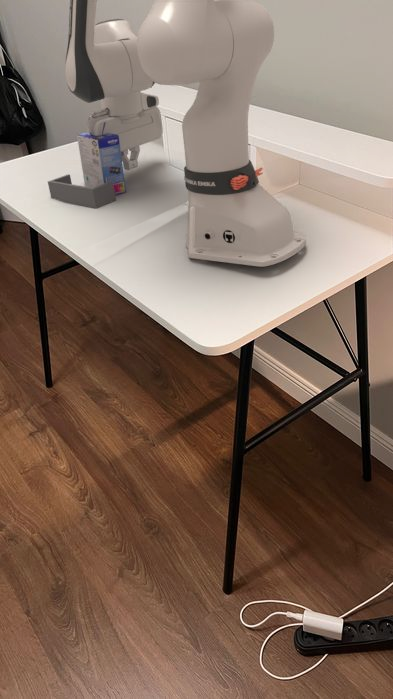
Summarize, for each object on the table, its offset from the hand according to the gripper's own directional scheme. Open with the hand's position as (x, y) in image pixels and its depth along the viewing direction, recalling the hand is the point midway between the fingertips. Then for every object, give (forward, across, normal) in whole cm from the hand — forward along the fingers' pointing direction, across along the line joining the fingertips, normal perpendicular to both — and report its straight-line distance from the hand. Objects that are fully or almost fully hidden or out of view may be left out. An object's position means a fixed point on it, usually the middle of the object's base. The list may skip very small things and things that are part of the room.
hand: (131, 168), depth 142 cm
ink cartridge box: (+3, -8, 0) cm, 9 cm away
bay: (+3, -16, 0) cm, 16 cm away
